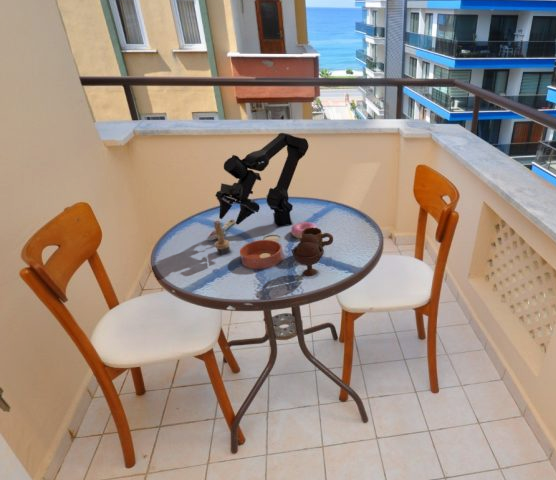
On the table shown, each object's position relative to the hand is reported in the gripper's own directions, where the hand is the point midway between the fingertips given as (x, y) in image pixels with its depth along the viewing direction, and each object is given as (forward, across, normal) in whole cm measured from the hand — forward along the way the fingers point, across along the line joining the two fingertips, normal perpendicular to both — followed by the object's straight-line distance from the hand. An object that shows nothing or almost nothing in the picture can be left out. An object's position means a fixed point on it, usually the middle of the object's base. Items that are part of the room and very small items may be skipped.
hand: (228, 221), depth 158 cm
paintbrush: (+3, -15, +13) cm, 20 cm away
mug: (-2, +32, +18) cm, 37 cm away
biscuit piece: (+8, +17, +8) cm, 20 cm away
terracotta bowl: (+8, +16, +8) cm, 20 cm away
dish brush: (+12, 0, +5) cm, 12 cm away
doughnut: (-9, +16, +25) cm, 31 cm away
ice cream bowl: (+7, +38, +9) cm, 40 cm away
